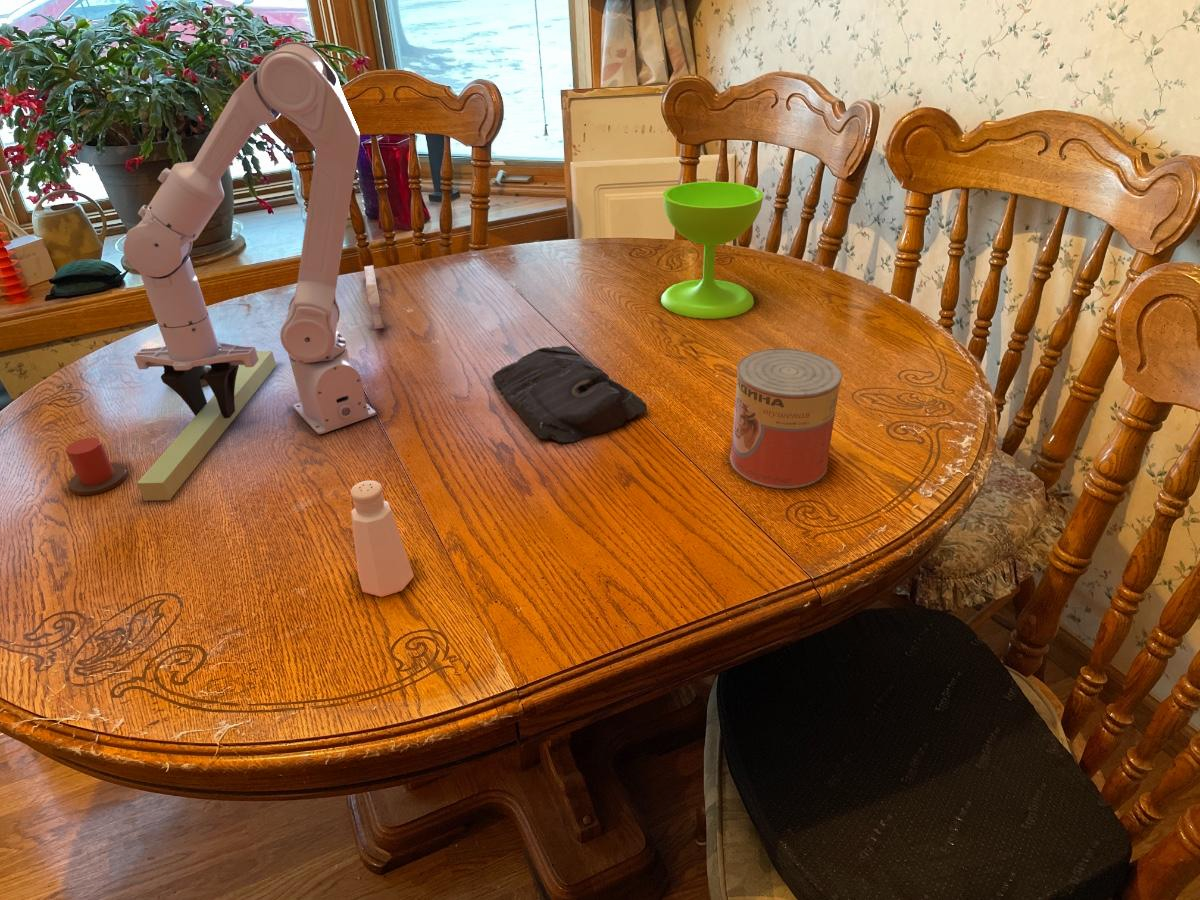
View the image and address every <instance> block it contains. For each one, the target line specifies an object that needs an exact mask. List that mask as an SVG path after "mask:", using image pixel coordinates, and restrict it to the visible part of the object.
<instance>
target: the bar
mask: <svg viewBox="0 0 1200 900" xmlns="http://www.w3.org/2000/svg"><path fill="white" fill-rule="evenodd" d="M256 353H257V356H258V359H259V360H258V362H257V363H256V364H255V365H254V366H253V367H245V365H239V368H238V371H237V376H236V381H235V390H234V402H235V412H234V413H233V414H232V416H231V417H230V418H224V417H223V415H222V413H221V411H220V408H219V405H218V402H217V399H216V397H215V395H214V394H213V396H212V397H211V398H210V399H209V400H207V404H206V405H205V406H204V407H203V408H202V409H201V411H200V412H199V413H198V414H197V415H196V416H195V415H194V417H193V418H192V419H191V421H190V422H189V423H188V424H187V425H186V427H185V428H184V429H183V430H182V431H181V432H180V433H179V434H178V435H177V436H176V438H175V439H174V440H173V441H172V442H171V444H170V445H168V447H167V448H166V449H165V450H164V452H162V454H160V456H159V457H158V458H157V459H156V460H155V462H154V463H153V464H152V465H151V467H149V469H148V470H147V471H146V472H145V473H144V474H143V475H142V477H140V478H139V480H138V481H137V482H136V485H137V488H138V489H139V492H140V494H141V497H142V499H143V501H145V502H148V501H171V499H172V498H173V497H174V496H175V495H176V493H177V492H178V491H179V489H181V487H182V486H183V484H184V483H185V482H186V481H187V479H188V478H189V477H190V476H191V474H192V473H193V472H194V470H195V469H196V468H197V467H198V466H199V464H200V463H201V461H202V460H203V459H204V458H205V457H206V455H207V454H208V453H209V451H211V449H212V448H213V446H214V445H215V444H216V443H217V442H218V440H219V439H220V438H221V436H222V435H223V434H224V432H225V431H226V430H227V429H228V428H229V426H230V425H231V424H232V422H233V421H234V420H235V419H236V417H237V416H238V415H239V414H240V413H241V411H242V410H243V409H244V407H245V406H246V405H247V403H249V401H250V400H251V398H252V397H253V396H254V394H256V392H257V391H258V389H259V388H261V386H262V385H263V383H264V382H265V380H266V379H268V377H269V375H270V374H271V373H272V372H273V371H274V370H275V368H276V367H277V363H276V360H275V356H274V353H273V350H256Z"/></svg>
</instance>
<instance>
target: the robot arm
mask: <svg viewBox="0 0 1200 900" xmlns="http://www.w3.org/2000/svg"><path fill="white" fill-rule="evenodd" d="M281 115H282V116H283V117H284V118H286V119H287V120H289V121H290V122H292V123H293V124H295V125H296V126H297V127H298V128H299V130H300V131H301V133H303V135H304V136H305V137H306V138H307V140H308V141H309V142H310V143H311V145H312V146H313V147H314V150H315V154H314V161H313V168H312V176H311V182H310V190H309V196H308V202H307V203H308V204H307V209H306V210H307V212H306V218H305V225H304V233H303V240H302V248H301V255H300V261H299V269H298V277H297V283H296V288H295V293H294V295H293V296H292V298H291V299H290V301H289V304H288V312H287V315H286V318H285V321H284V323H283V325H282V326H281V329H280V334H279V337H280V339H279V340H280V342H281V345H282V347H283V348H284V350H285V352H286V353H287V355H288V359H289V362H290V366H291V370H292V374H293V377H294V382H295V385H296V389H297V392H298V396H299V399H300V402H297V403H294V404H293V405H292V408H293V410H295V412H296V413H297V414H298V415H299V416H300V417H301V418H302V419H303V420H304V421H305V422H306V423H307V424H308V426H310V428H311V429H312V430H313V431H314V432H315V433H316V434H317V435H323V434H326V433H328V432H331V431H334V430H337V429H340V428H343V427H346V426H348V425H351V424H354V423H357V422H360V421H363V420H366V419H368V418H371V417H374V416H375V415H376V414H377V413H376V410H375V409H373V408H372V407H371V406H370V404H368V403H367V400H366V396H365V391H364V387H363V382H362V378H361V375H360V373H359V372H358V370H357V369H356V368H355V367H354V366H353V365H352V363H351V360H350V355H349V350H348V346H347V342H346V339H345V338H344V337H343V336H342V334H340V332H339V331H338V330H337V327H338V323H339V321H340V317H341V316H340V315H341V313H340V312H341V311H340V307H339V304H338V301H337V297H336V293H337V286H338V279H339V272H340V267H341V260H342V253H343V247H344V242H345V236H346V229H347V223H348V219H349V212H350V206H351V205H350V204H351V199H352V195H353V194H352V193H353V188H354V180H355V176H356V169H357V162H358V157H359V151H360V143H361V134H360V131H359V128H358V125H357V123H356V121H355V118H354V116H353V114H352V111H351V109H350V107H349V105H348V101H347V99H346V97H345V95H344V92H343V90H342V88H341V84H340V80H339V78H338V75H337V73H336V71H334V69H333V68H332V67H331V66H330V64H329V63H328V62H327V61H326V60H325V59H324V57H323V56H322V55H321V54H320V53H319V52H318V50H316V49H315V48H314V47H312V46H311V45H309V44H307V43H304V42H300V41H289V42H285V43H282V44H280V45H279V46H277V47H276V48H275V49H274V50H273V51H272V52H270V53H268V54H267V55H266V56H265V57H264V58H263V59H262V60H261V62H260V64H259V66H258V68H257V69H256V70H254V71H253V72H252V73H250V75H249V76H248V77H247V78H246V79H245V80H244V81H243V83H241V84H240V86H239V87H237V89H236V90H235V91H234V92H233V93H232V94H231V97H230V98H229V100H228V101H227V103H226V104H225V106H224V108H223V110H222V112H221V113H220V114H219V117H218V119H217V120H216V121H215V123H214V125H213V127H212V128H211V130H210V132H209V134H208V135H207V137H206V139H205V141H204V142H203V144H202V146H201V147H200V148H199V151H198V152H197V154H196V156H195V157H194V159H193V160H192V161H186V162H177V163H175V164H173V166H172V167H171V169H169V168H168V167H165V168H164V169H163V170H162V171H161V172H160V174H159V176H158V177H157V181H159V182H160V183H161V184H160V186H159V187H158V189H157V191H156V192H155V194H154V196H153V197H152V199H151V201H150V202H149V203H148V205H146V204H143V205H142V206H141V207H140V209H139V210H138V212H137V215H138V216H139V217H141V218H142V219H141V221H139V223H137V224H136V225H135V226H134V227H132V228H129V230H127V232H126V234H125V239H124V241H123V254H124V257H125V260H126V261H127V262H128V264H129V265H130V266H131V267H132V268H133V269H134V270H136V271H137V272H138V273H139V275H140V278H141V280H142V283H143V286H144V290H145V293H146V295H147V298H148V301H149V304H150V306H151V309H152V312H153V315H154V319H155V320H156V323H157V325H158V329H159V331H160V334H161V337H162V340H163V342H164V345H165V346H159V347H151V348H141V349H139V350H138V351H137V352H136V353H135V354H134V355H133V359H134V361H135V363H136V366H137V368H138V369H137V370H148V369H149V368H152V367H153V368H155V367H156V368H157V367H158V368H159V367H163V373H161V376H160V379H161V381H162V383H163V384H164V385H166V386H168V387H169V388H170V389H172V390H173V391H174V392H175V393H176V394H177V395H178V396H179V397H180V398H181V399H182V400H183V401H184V403H185V405H187V407H188V408H189V409H190V410H191V412H192V414H193V415H194V417H195V416H196V415H197V414H198V413H199V412H200V411H201V409H202V408H203V407H204V406H205V405H206V404H207V403H208V400H207V398H206V396H205V393H204V389H203V387H202V386H201V382H200V376H199V370H198V366H205V367H210V368H211V369H209V370H208V372H207V373H206V374H205V375H204V376H203V377H204V379H205V381H206V382H207V383H208V385H207V386H209V388H210V389H211V391H212V393H213V396H214V395H215V397H216V399H217V402H218V405H219V408H220V411H221V413H222V415H223V417H224V418H230V417H231V416H232V414H233V413H234V412H235V402H234V390H235V381H236V376H237V371H238V368H239V366H240V365H245V367H253V366H254V365H255V364H256V363H257V362H258V360H259V359H258V356H257V353H256V351H257V350H256V347H255V346H246V345H245V346H244V345H237V344H231V343H224V342H219V341H218V339H217V336H216V333H215V329H214V327H213V324H212V321H211V317H210V314H209V310H208V308H207V304H206V302H205V299H204V296H203V293H202V289H201V286H200V283H199V280H198V277H197V275H196V272H195V270H194V266H193V263H192V260H191V257H190V256H189V255H190V253H191V251H192V249H193V243H194V241H196V240H198V238H199V236H200V235H201V233H202V232H203V230H204V228H205V227H206V226H207V224H208V223H209V221H210V220H211V218H212V217H213V215H214V213H215V212H216V211H217V209H218V208H219V206H220V205H221V203H222V202H223V201H224V199H225V191H224V188H223V184H222V180H221V179H222V177H223V175H224V174H225V173H226V171H227V170H228V168H229V167H230V166H231V164H232V163H233V161H234V160H235V158H236V157H237V155H238V154H239V153H240V151H241V150H242V149H243V147H244V145H245V144H246V143H247V141H248V140H249V138H250V137H251V136H252V134H253V133H254V132H255V130H256V129H257V127H261V126H263V125H266V124H270V123H272V122H276V121H277V120H278V119H279V117H280V116H281Z"/></svg>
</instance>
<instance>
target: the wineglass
mask: <svg viewBox="0 0 1200 900" xmlns="http://www.w3.org/2000/svg"><path fill="white" fill-rule="evenodd" d="M763 201H764V193H763V191H761V190H760V189H759V188H757V187H754V186H751V185H747V184H744V183H738V182H737V183H736V182H731V181H694V182H693V181H692V182H688V183H680V184H678V185H677V184H676V185H673V186H671V187H668V188H667V189H665V190H664V191H662V202H663V209H664V213H665V214H666V217H667V219H668V221H669V223H670V224H671V225H672V227H673V228H674V230H676V232H677V233H678V234H679V235H681V236H682V237H684V238H685V239H686V240H688V241H689V242H691V243H695V244H697V245H698V244H699V245H702V246H703V264H702V266H703V267H702V279H691V280H685V281H681V282H678V283H675V284H673V285H671V286H670V287H668V288H666V289H665V290H664V292H663V293H662V295H661V297H660V303H661V304H662V306H663V307H664V308H665V309H666V310H668V311H669V312H672V313H674V314H676V315H679V316H683V317H687V318H695V319H703V320H704V319H705V320H706V319H708V320H715V319H716V320H717V319H726V318H731V317H732V318H733V317H737V316H739V315H741V314H744V313H747V312H748V311H749V310H751V309H752V308H753V306H754V304H755V300H754V296H753V294H752V293H751V292H750V291H749V290H748V289H747V288H746V287H744V286H742V285H739V284H737V283H733V282H731V281H727V280H721V279H715V270H716V269H715V268H716V267H715V266H716V250H717V249H716V248H717V246H720V245H724V244H728V243H731V242H732V241H734V240H737V238H739V237H741V236H742V235H744V234H745V233H746V232H747V231H748V230H749V229H750V228H751V226H752V225H753V224H754V223H755V221H756V219H757V218H758V215H759V213H760V212H761V209H762V205H763Z"/></svg>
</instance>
